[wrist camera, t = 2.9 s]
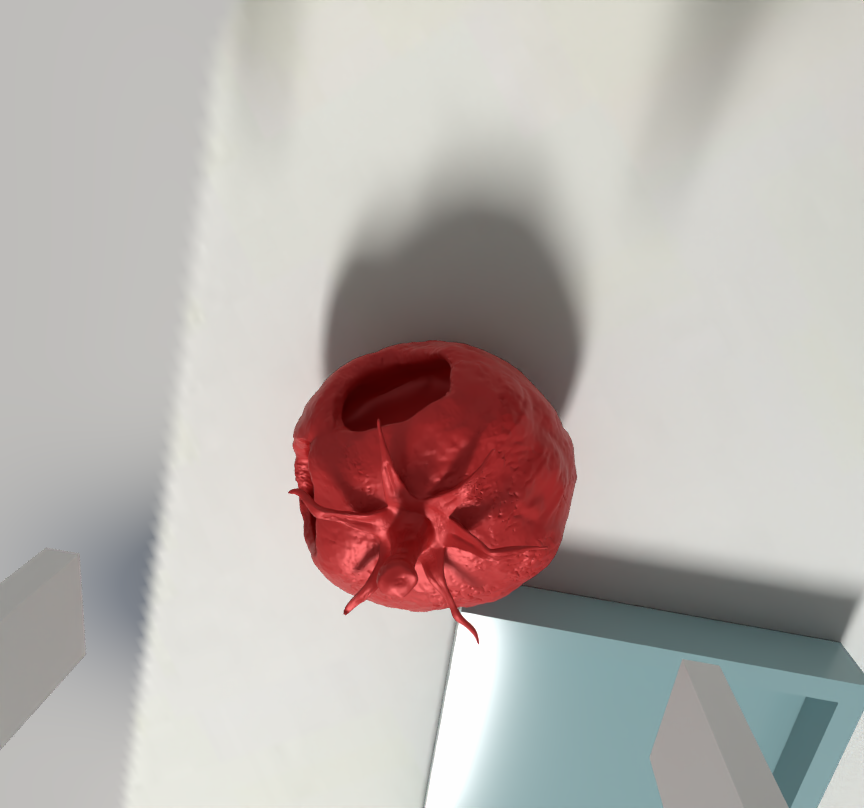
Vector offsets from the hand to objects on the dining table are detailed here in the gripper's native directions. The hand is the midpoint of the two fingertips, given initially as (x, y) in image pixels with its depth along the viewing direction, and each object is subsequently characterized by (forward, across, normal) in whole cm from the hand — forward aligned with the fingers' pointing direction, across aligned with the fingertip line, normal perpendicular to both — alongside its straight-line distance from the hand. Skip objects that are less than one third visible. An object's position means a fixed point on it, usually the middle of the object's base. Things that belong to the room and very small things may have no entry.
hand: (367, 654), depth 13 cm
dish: (+12, +10, -14) cm, 21 cm away
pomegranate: (+12, 0, 0) cm, 13 cm away
